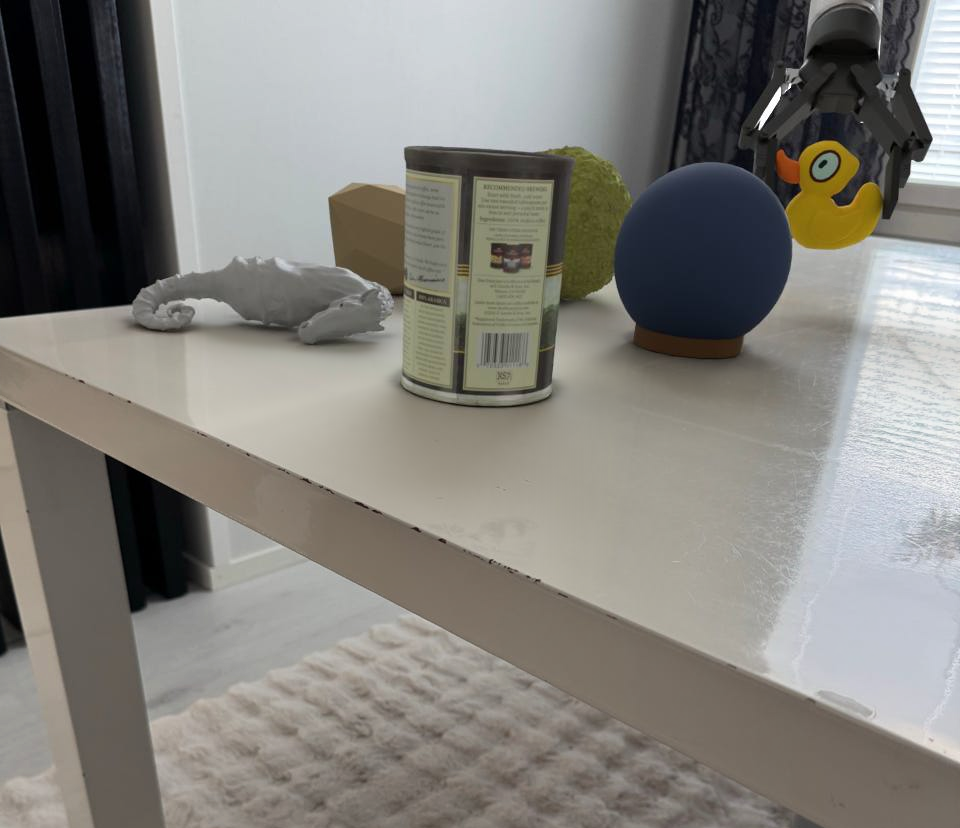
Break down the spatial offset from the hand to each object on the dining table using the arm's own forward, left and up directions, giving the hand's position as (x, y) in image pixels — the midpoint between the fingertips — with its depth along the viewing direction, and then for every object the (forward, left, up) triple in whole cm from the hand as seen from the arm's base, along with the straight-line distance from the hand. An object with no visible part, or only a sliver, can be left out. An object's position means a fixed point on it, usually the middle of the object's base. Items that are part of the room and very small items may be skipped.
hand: (827, 205), depth 96 cm
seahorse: (+45, +36, -10) cm, 59 cm away
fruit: (+26, +6, -10) cm, 29 cm away
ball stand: (+12, +25, -10) cm, 30 cm away
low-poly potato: (+40, +14, -10) cm, 44 cm away
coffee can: (+26, +46, -10) cm, 54 cm away
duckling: (0, -3, -5) cm, 5 cm away
